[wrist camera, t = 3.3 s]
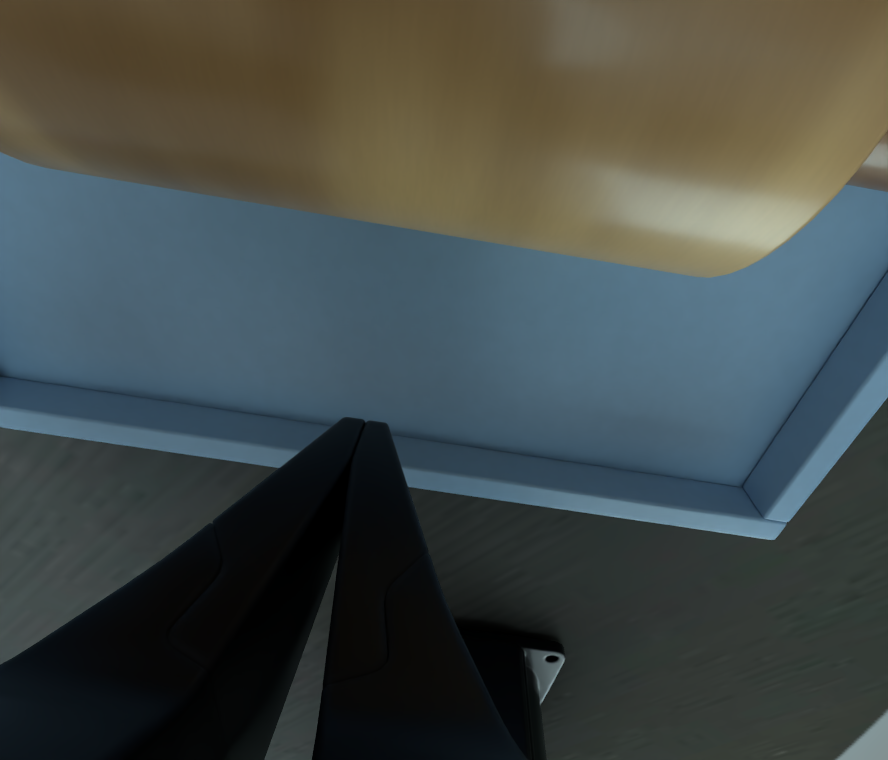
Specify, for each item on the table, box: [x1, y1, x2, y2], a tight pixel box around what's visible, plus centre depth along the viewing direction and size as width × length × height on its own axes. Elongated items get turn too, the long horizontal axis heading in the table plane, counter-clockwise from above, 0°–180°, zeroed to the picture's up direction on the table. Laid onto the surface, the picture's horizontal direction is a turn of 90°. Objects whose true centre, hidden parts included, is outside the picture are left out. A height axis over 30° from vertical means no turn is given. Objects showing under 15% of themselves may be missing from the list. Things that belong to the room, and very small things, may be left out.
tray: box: [0, 152, 888, 540], centre depth 8 cm, size 19×21×2 cm
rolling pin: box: [0, 0, 888, 278], centre depth 6 cm, size 5×18×5 cm, turn 81°
